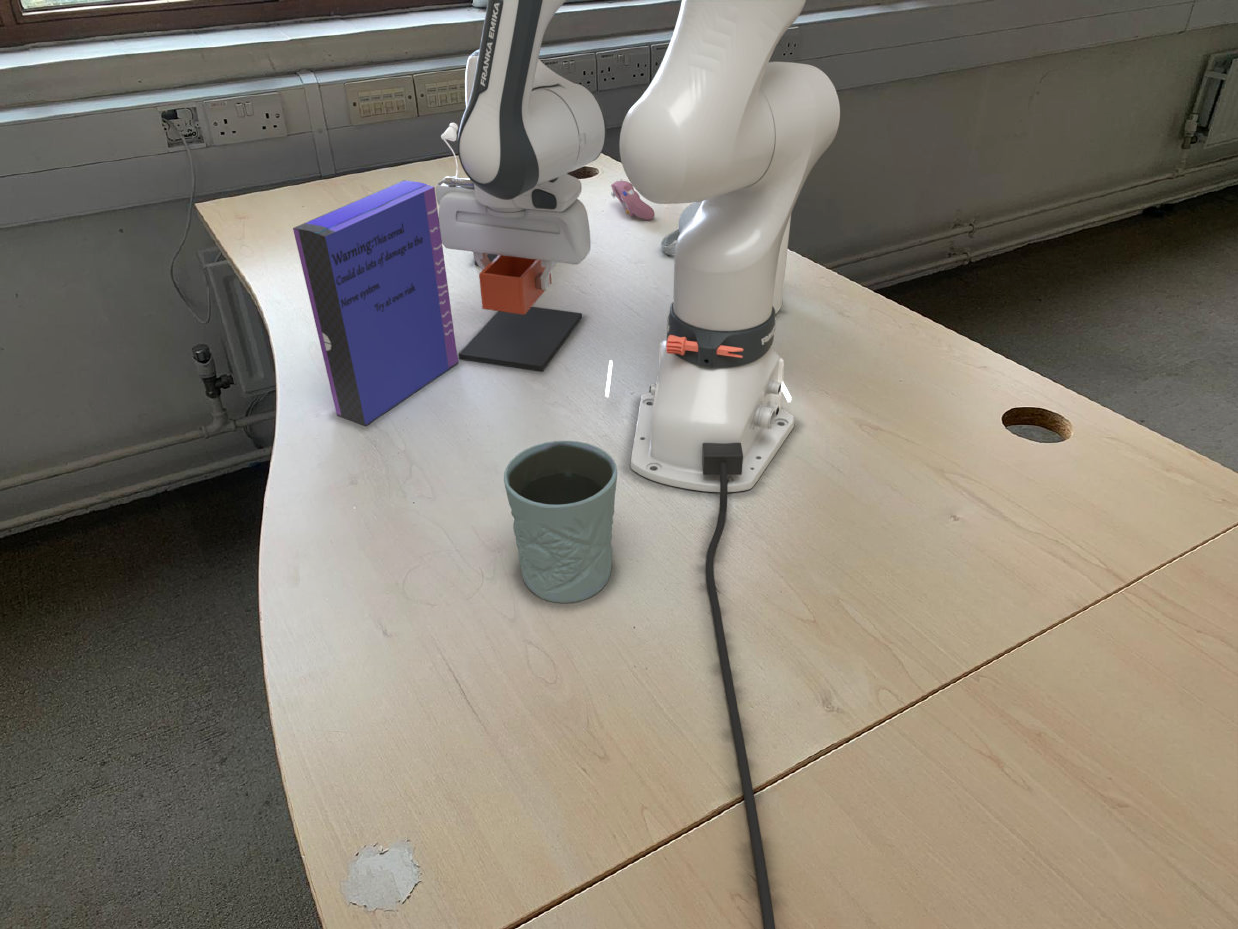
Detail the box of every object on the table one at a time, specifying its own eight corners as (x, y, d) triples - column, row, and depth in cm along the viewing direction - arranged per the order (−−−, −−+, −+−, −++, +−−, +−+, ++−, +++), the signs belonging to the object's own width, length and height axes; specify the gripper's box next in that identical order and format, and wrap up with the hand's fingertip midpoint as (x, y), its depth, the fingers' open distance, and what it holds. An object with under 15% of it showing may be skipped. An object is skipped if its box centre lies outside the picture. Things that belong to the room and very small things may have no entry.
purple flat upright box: (430, 354, 122) (403, 178, 108) (458, 363, 120) (434, 185, 106) (336, 415, 110) (292, 226, 96) (365, 426, 108) (324, 234, 94)
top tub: (524, 314, 117) (522, 279, 114) (482, 308, 119) (478, 273, 116) (551, 283, 125) (549, 249, 122) (511, 277, 126) (508, 244, 123)
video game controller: (619, 212, 168) (602, 181, 164) (640, 199, 168) (624, 167, 164) (636, 231, 161) (619, 199, 156) (658, 217, 160) (641, 184, 156)
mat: (542, 371, 118) (542, 366, 117) (459, 359, 121) (458, 353, 120) (582, 318, 130) (582, 312, 130) (505, 307, 133) (505, 302, 133)
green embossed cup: (525, 617, 82) (515, 515, 75) (505, 547, 90) (494, 449, 83) (631, 594, 84) (631, 493, 77) (603, 528, 92) (600, 430, 85)
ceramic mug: (718, 238, 153) (719, 194, 149) (730, 257, 147) (732, 211, 142) (657, 244, 152) (656, 199, 148) (666, 263, 146) (666, 217, 141)
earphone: (504, 152, 181) (510, 110, 163) (518, 232, 180) (525, 198, 162) (436, 158, 178) (435, 116, 161) (450, 239, 177) (449, 206, 160)
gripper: (422, 183, 113) (436, 284, 121) (576, 199, 108) (580, 304, 116) (445, 167, 118) (457, 266, 126) (593, 182, 113) (595, 284, 121)
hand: (517, 284), depth 121 cm, fingers closed on top tub, 6 cm apart
